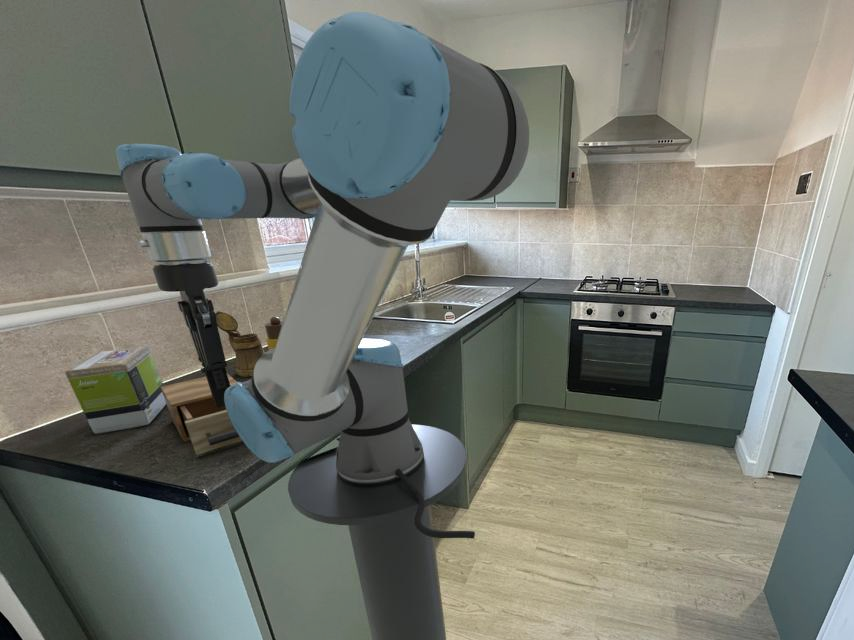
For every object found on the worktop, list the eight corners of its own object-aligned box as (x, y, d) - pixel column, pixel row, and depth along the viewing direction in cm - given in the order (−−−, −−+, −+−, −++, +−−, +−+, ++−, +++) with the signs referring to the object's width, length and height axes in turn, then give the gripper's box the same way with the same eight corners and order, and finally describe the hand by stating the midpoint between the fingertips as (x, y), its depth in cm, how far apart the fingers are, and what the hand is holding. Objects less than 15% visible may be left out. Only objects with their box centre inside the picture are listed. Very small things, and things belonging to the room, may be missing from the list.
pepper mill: (310, 405, 100) (290, 316, 92) (287, 411, 96) (265, 320, 89) (302, 399, 103) (282, 313, 96) (280, 405, 100) (257, 317, 92)
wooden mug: (247, 364, 131) (231, 308, 125) (279, 368, 127) (264, 310, 120) (220, 374, 124) (202, 314, 117) (253, 378, 119) (236, 316, 112)
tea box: (121, 408, 101) (97, 350, 96) (171, 401, 104) (151, 344, 99) (91, 435, 88) (62, 369, 83) (150, 425, 92) (125, 362, 86)
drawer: (269, 441, 82) (261, 410, 79) (201, 463, 74) (189, 430, 72) (244, 415, 93) (236, 387, 91) (183, 432, 86) (173, 403, 84)
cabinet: (252, 421, 92) (242, 386, 89) (184, 442, 84) (170, 404, 81) (235, 404, 102) (225, 372, 99) (172, 421, 93) (160, 386, 90)
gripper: (145, 262, 65) (191, 400, 73) (157, 266, 56) (207, 422, 65) (202, 258, 70) (239, 388, 78) (221, 262, 61) (260, 407, 70)
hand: (225, 403), depth 72 cm, fingers closed
